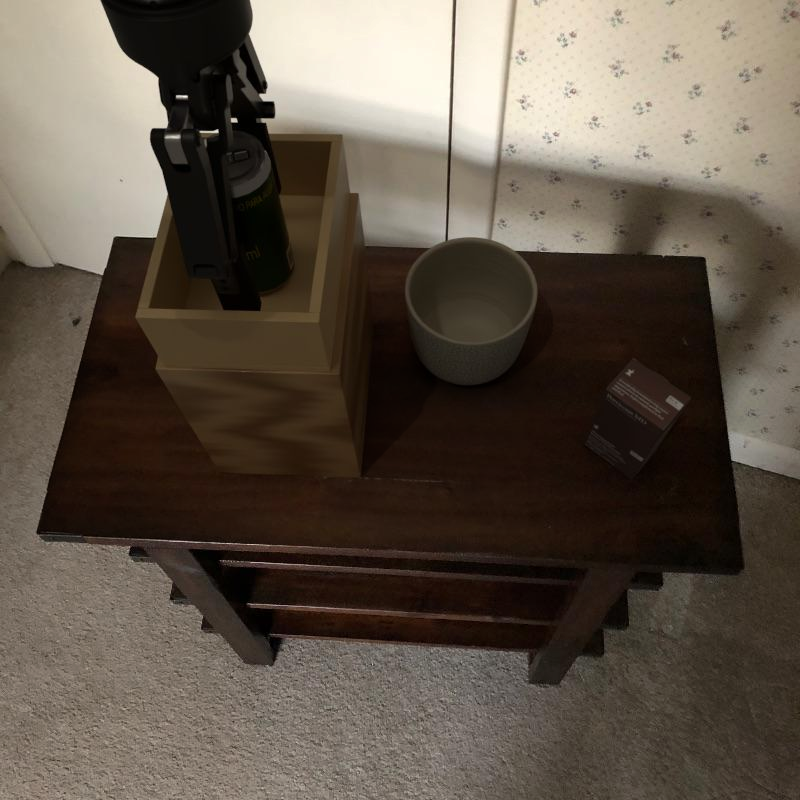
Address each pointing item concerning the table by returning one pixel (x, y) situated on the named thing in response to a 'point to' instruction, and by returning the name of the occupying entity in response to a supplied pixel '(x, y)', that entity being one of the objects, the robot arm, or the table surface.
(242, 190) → the beer can
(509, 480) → the table surface
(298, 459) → the stand
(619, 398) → the box
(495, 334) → the planter
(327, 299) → the open bin
